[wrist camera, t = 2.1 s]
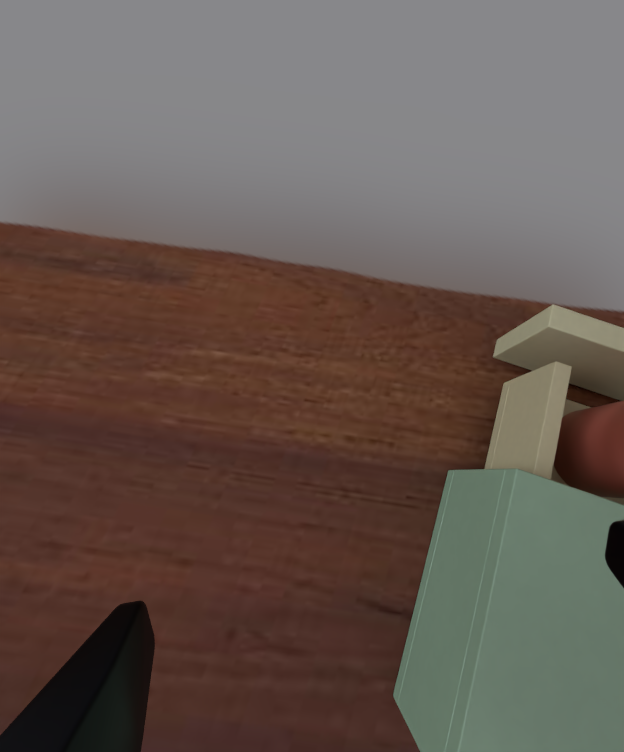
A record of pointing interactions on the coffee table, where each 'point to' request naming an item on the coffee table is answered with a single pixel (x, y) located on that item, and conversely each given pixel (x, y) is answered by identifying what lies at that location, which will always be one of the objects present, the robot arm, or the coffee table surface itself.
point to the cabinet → (516, 621)
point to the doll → (593, 450)
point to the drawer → (551, 385)
